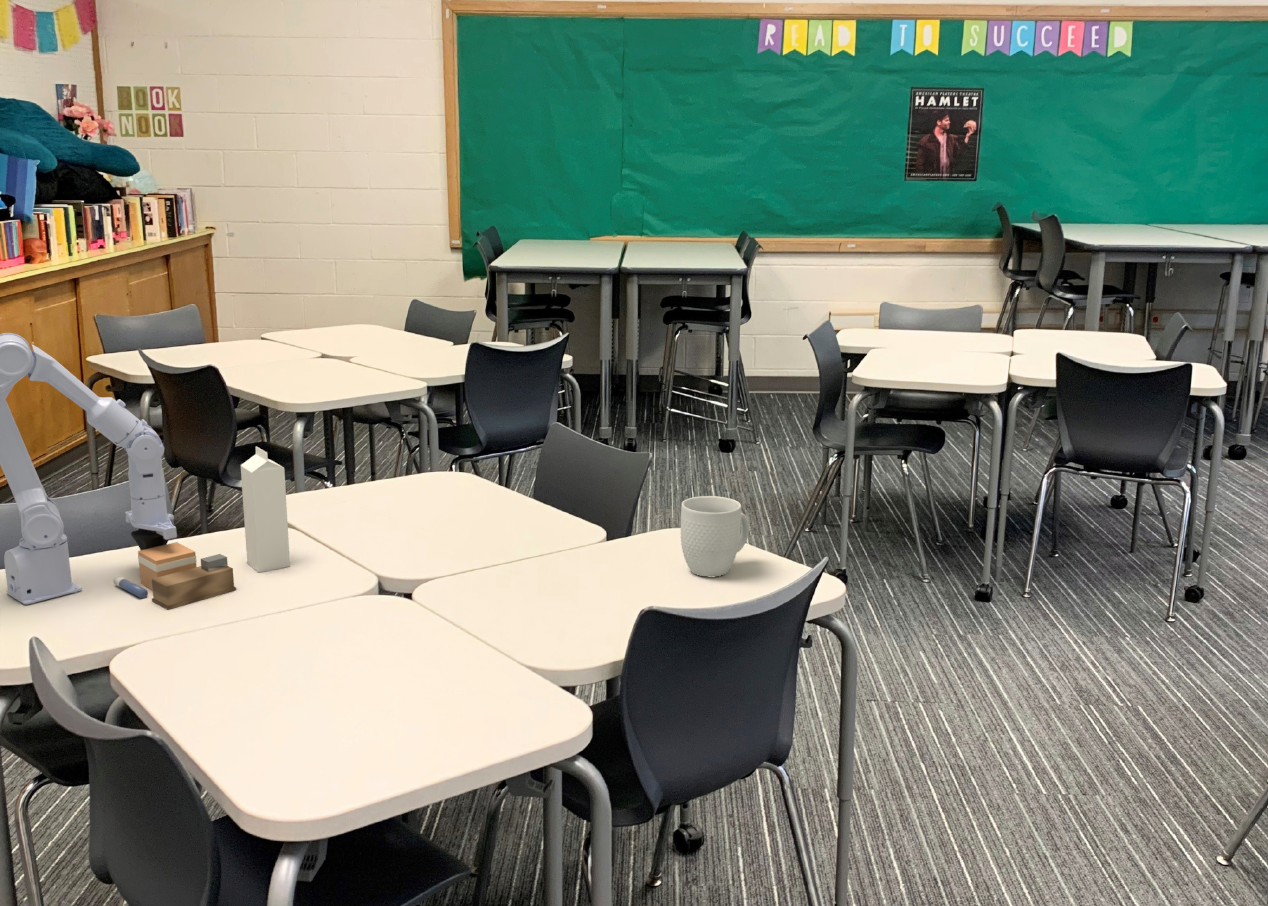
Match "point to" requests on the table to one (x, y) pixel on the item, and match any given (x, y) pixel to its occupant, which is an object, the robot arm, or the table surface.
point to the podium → (191, 586)
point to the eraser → (214, 562)
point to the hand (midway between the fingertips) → (154, 568)
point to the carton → (164, 561)
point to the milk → (265, 513)
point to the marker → (130, 587)
